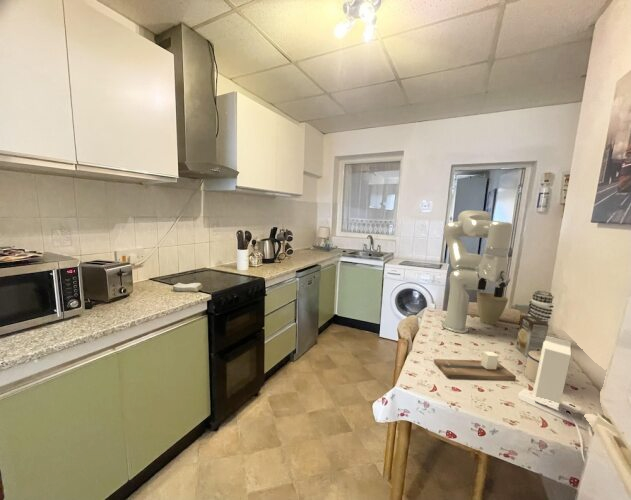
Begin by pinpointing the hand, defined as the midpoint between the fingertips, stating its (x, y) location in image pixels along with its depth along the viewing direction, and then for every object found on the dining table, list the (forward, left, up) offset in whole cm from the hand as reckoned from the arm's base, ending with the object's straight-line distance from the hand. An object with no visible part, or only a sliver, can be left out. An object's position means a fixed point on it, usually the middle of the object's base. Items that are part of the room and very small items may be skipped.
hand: (489, 293), depth 108 cm
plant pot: (-38, +32, -28) cm, 57 cm away
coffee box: (-4, +26, -28) cm, 39 cm away
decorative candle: (-18, +42, -28) cm, 54 cm away
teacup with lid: (+14, +14, -28) cm, 35 cm away
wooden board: (+11, -10, -28) cm, 32 cm away
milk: (+27, +4, -28) cm, 39 cm away
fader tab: (+11, -4, -26) cm, 29 cm away
